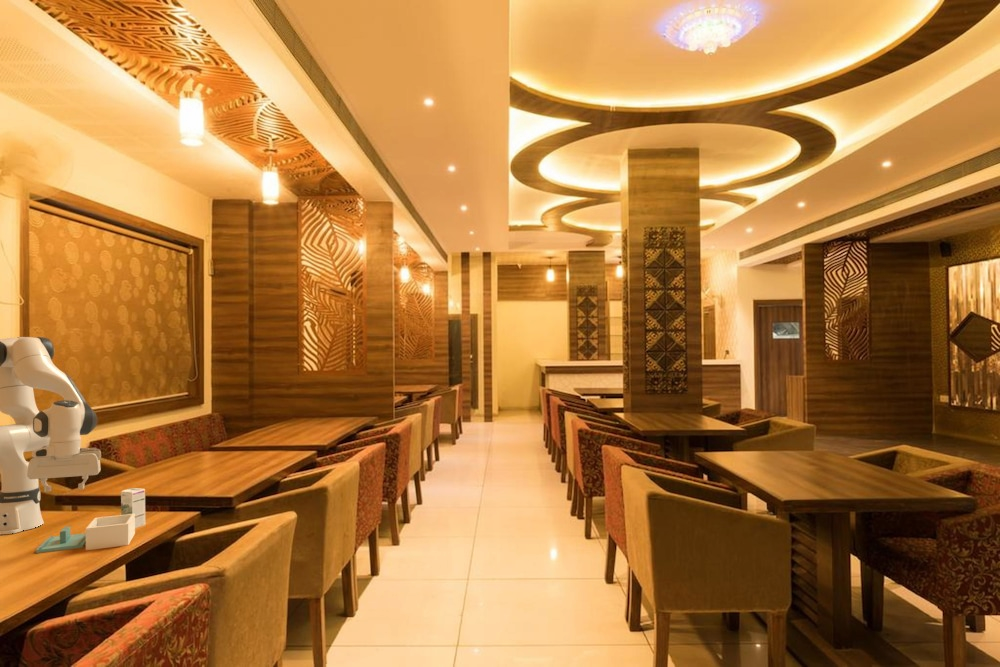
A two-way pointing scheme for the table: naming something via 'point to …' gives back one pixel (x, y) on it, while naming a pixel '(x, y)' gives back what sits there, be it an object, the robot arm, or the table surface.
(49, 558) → the table surface
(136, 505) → the syrup box
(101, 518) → the tub
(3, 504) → the robot arm
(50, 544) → the lid
